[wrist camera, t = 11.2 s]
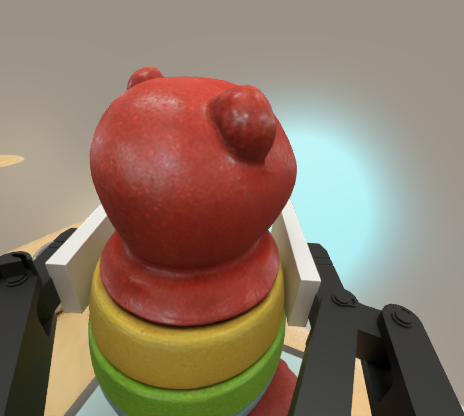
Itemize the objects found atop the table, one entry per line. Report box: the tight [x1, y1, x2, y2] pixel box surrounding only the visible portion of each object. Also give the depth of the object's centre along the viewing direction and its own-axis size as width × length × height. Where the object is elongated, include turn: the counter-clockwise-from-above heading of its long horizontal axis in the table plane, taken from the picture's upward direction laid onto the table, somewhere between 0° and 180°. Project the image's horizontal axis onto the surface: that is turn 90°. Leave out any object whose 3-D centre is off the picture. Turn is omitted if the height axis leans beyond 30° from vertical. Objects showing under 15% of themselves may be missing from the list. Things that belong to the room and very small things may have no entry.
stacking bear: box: [88, 67, 297, 416], centre depth 12 cm, size 11×10×18 cm
